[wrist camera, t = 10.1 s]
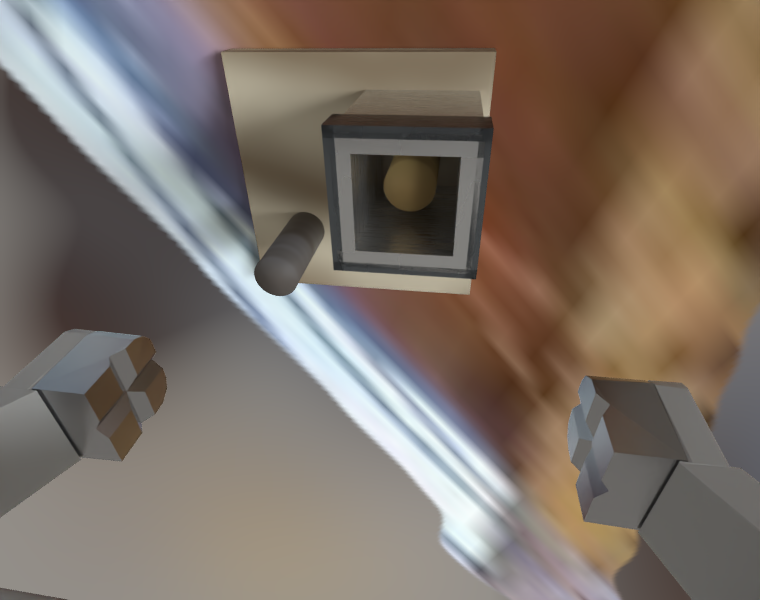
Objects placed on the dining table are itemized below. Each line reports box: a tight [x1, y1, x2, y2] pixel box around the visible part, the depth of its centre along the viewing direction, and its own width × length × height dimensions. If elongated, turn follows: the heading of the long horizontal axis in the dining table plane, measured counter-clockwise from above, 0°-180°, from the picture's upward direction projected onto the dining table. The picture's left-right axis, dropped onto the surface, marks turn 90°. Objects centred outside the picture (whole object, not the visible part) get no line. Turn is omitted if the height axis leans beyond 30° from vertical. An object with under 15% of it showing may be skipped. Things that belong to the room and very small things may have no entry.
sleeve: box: [321, 90, 494, 279], centre depth 19 cm, size 5×5×7 cm
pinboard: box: [221, 48, 496, 296], centre depth 22 cm, size 12×12×6 cm
